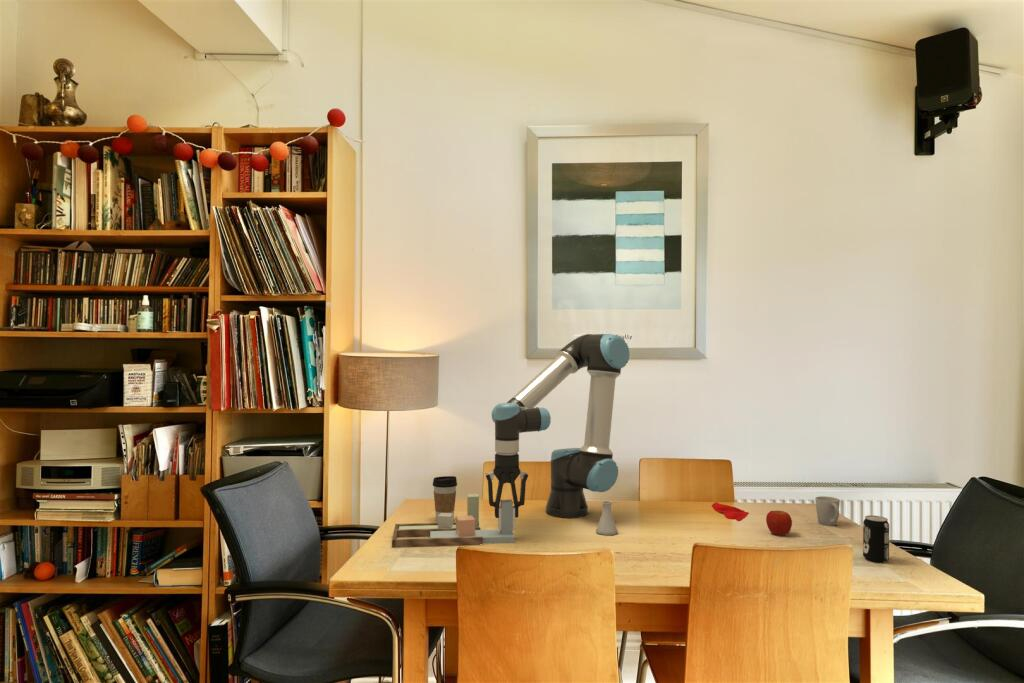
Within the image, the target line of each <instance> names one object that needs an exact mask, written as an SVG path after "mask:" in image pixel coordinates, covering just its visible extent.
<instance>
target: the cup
mask: <svg viewBox="0 0 1024 683" xmlns="http://www.w3.org/2000/svg"><path fill="white" fill-rule="evenodd" d="M840 503H841V502H840V499H839V498H837V497H834V496H833V497H832V496H824V495H823V496H821V495H820V496H816V497H815V507H816V508H815V509H816V515H817V516H816V517H817V522H818V524H820V525H822V526H827V527H828V526H830V527H832V526H833V527H834V526H836V525H837V523H838V520H839V517H840V510H839V509H840Z"/></svg>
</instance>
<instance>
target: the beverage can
mask: <svg viewBox="0 0 1024 683" xmlns="http://www.w3.org/2000/svg"><path fill="white" fill-rule="evenodd" d="M862 523H863V524H862V526H863V528H862V530H863V533H862V557H864V559H865V560H866V561H869V562H871V563H876V564H877V563H879V564H883V563H887V562H888V561H889V560H890V523H889V521H888V518H887V517H884V516H881V515H880V516H879V515H874V514H873V515H872V514H871V515H869V514H867V515H865V516H864V520H863V522H862Z"/></svg>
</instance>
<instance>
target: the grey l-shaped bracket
mask: <svg viewBox="0 0 1024 683" xmlns="http://www.w3.org/2000/svg"><path fill="white" fill-rule="evenodd" d="M466 496H467V497H466V498H467V500H466V501H467V502H466V503H467V505H466V506H467V507H466V509H467V510H466V514H467V515H466V516H470V515H472V516H473V518H474V519H475V528H476V527H480V522H479V521H480V515H479V514H480V509H479V508H480V496H479V494H478V493H470V494H469V493H467V495H466ZM452 528H456V525H453V526H452ZM400 529H438V525H426V526H399V530H400Z"/></svg>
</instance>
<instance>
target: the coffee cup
mask: <svg viewBox="0 0 1024 683" xmlns="http://www.w3.org/2000/svg"><path fill="white" fill-rule="evenodd" d="M457 486H458V481H457V476H455V475H449V476H447V475H445V476H436V477H433V481H432V487H433V498H434V499H433V500H434V511H435V522H436V523H438V515H439V514H440V513H453V519H454V516H455V515H454V514H455V508H456V507H455V506H456V495H457Z"/></svg>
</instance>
